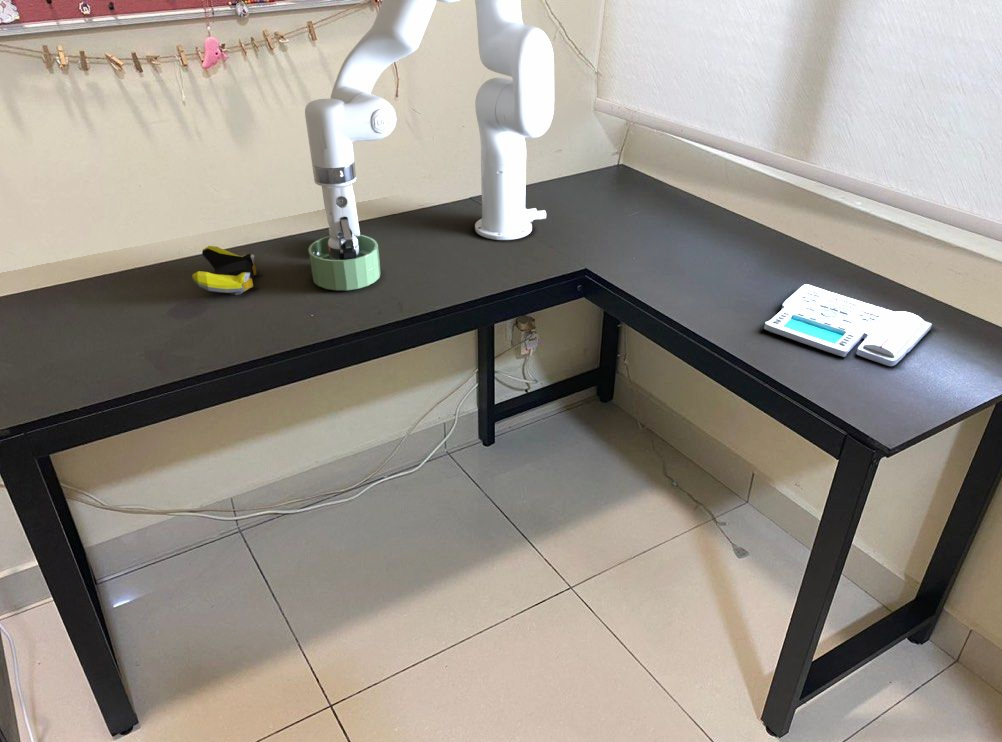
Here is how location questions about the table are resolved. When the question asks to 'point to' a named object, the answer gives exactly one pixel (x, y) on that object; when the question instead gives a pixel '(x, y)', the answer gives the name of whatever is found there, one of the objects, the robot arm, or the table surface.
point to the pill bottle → (334, 246)
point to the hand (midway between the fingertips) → (345, 261)
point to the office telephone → (847, 325)
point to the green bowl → (345, 265)
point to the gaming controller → (226, 272)
